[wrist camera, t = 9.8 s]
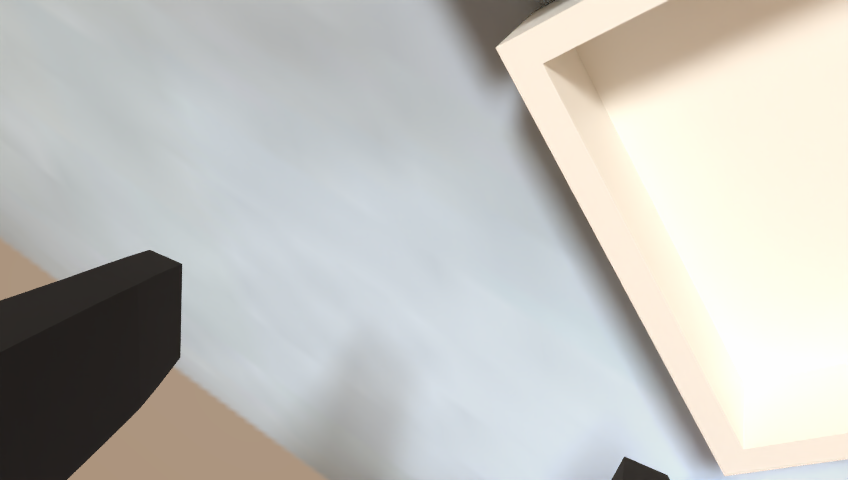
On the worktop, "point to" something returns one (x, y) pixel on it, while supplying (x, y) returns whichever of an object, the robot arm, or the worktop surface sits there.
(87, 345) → the robot arm
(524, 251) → the worktop surface
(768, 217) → the bin
